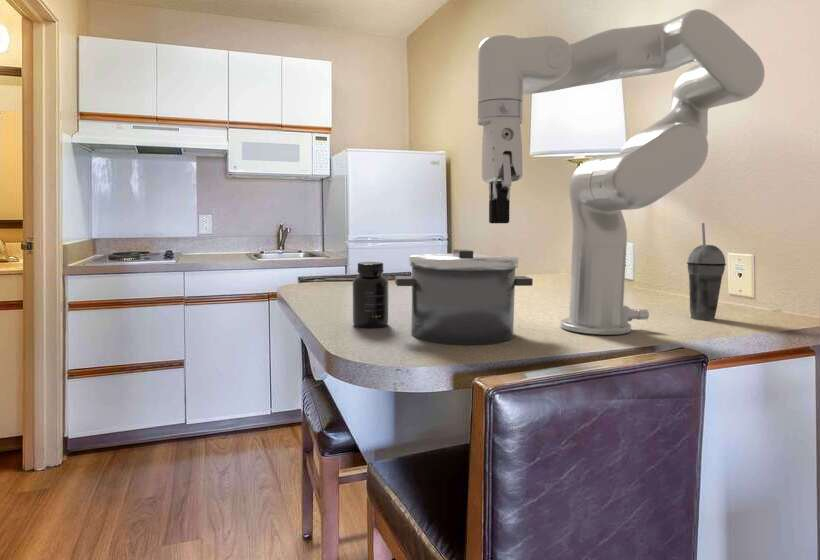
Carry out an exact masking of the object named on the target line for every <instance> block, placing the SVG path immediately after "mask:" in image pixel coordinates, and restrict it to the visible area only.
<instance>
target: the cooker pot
mask: <svg viewBox="0 0 820 560" xmlns="http://www.w3.org/2000/svg"><path fill="white" fill-rule="evenodd" d="M394 283H395V285H396V286H397V287H411V329H410V330H411V331H410V332H411V335H412V336H413V338H416V339H419V340H420V341H425V342H429V343H435V344H443V345H453V346H457V345H458V346H481V345H482V346H484V345H493V344H494V345H495V344H500V343H504V342H508V341H511V340H512V339H513V338H514V326H515V325H514V324H515V323H514V319H515V316H514V315H515V291H516V290H515V287H516V286H517V287H521V286H522V287H527V286H528V287H532V286H533V283H534V282H533V278H532V277H528V276H525V275H516V268H515V269H507V270H487V271H463V270H437V269H425V268H417V267H412V266H411V275H395V276H394Z"/></svg>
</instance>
